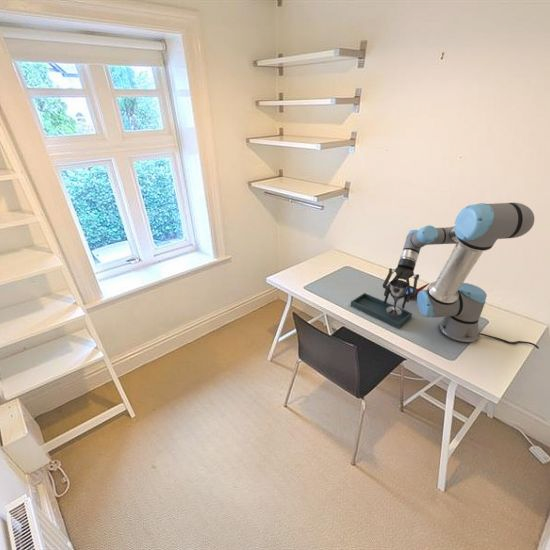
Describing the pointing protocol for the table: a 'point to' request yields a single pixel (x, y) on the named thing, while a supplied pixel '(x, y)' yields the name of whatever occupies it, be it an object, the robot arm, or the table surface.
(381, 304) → the tray
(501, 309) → the table surface
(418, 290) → the handheld game console
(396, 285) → the wine glass
